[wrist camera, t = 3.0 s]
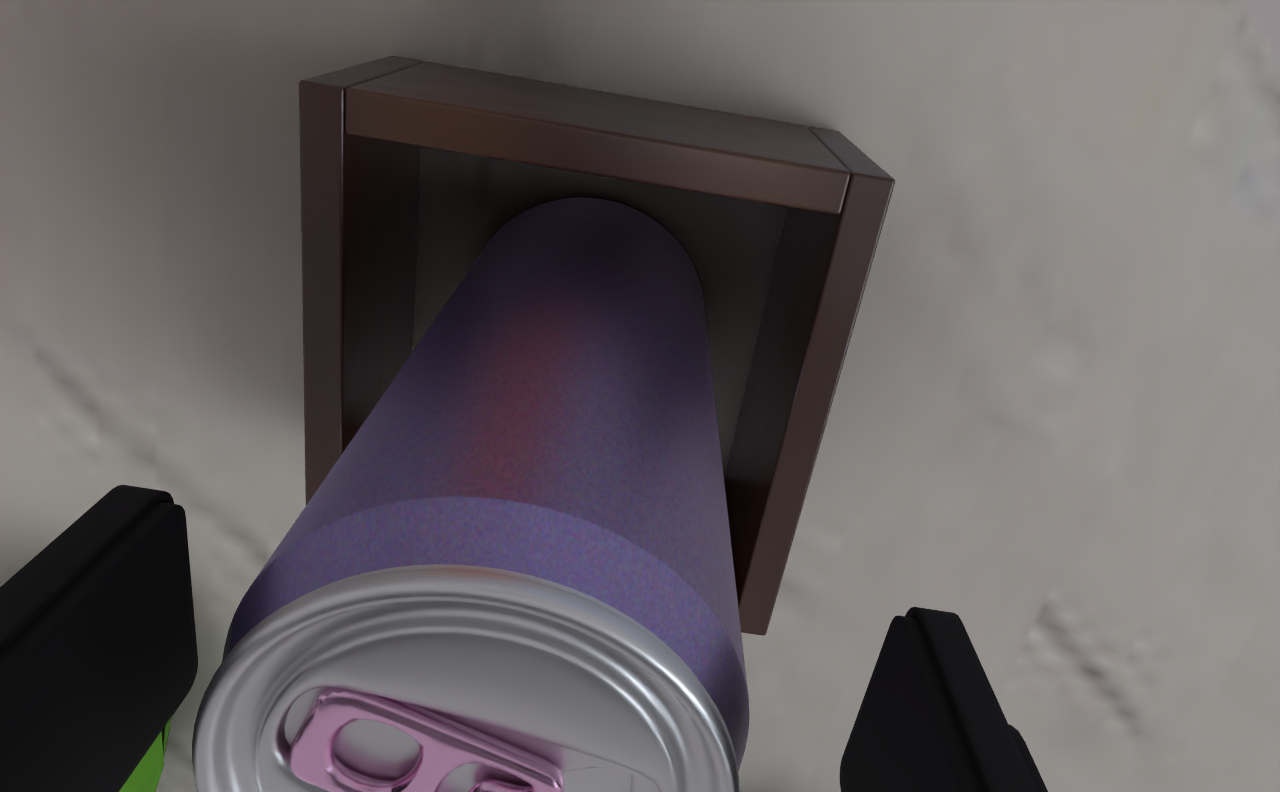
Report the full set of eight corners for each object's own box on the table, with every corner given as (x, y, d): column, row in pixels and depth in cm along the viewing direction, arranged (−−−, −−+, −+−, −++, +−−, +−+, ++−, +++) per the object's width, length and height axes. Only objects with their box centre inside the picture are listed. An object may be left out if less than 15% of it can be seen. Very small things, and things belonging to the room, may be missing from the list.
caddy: (379, 451, 24) (305, 571, 19) (390, 55, 20) (297, 79, 15) (746, 506, 25) (766, 636, 20) (840, 131, 20) (896, 179, 15)
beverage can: (536, 145, 20) (280, 458, 7) (747, 265, 22) (879, 733, 8) (437, 345, 23) (103, 870, 9) (633, 443, 24) (587, 1039, 10)
